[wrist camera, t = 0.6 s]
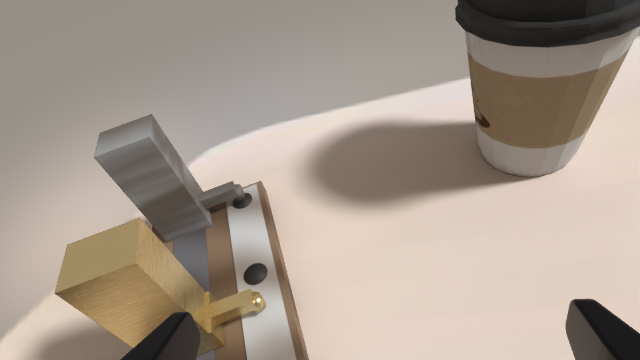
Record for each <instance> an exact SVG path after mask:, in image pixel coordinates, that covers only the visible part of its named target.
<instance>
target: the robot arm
mask: <svg viewBox="0 0 640 360" xmlns="http://www.w3.org/2000/svg"><path fill="white" fill-rule="evenodd" d="M566 333H567V337H568V340H569V343H570V345H571V348H572V351H573V354H574V357H575V360H640V333H638V332H637V331H636V330H634V329H633V328H632V327H630V326H629V325H628V324H626V323H625V322H624V321H622V320H621V319H620V318H618V317H617V316H616V315H614V314H613V313H612V312H610V311H609V310H608V309H606V308H605V307H604V306H602V305H601V304H600V303H598V302H597V301H595V300H593V299H574V300H572V301H571V302H570V305H569V310H568V315H567V320H566ZM200 341H201V334H200V330H199V328H198V326H197V324H196V322H195V320H194V318H193V316H192V314H191V313H189V312H175V313H173V314H171V315H170V316H169V317H168V318H167V319H165V320H164V321H163V322H162V323H161V324H160V325H159V326H158V327H156V328H155V329H154V330H153V331H152V332H151V333H150V334H149V335H147V336H146V337H145V338H144V339H143V340H142V341H141V342H140V343H139V344H137V345H136V346H135V347H134V348H133V349H132V350H131V351H130V352H128V353H127V354H126V355H125V356H124V357H123V358H122V359H121V360H196V359H197V355H198V350H199V346H200Z"/></svg>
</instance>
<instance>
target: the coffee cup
mask: <svg viewBox="0 0 640 360" xmlns="http://www.w3.org/2000/svg"><path fill="white" fill-rule="evenodd" d="M455 10H456V21H457V22H458V23H459V24H460V25H461V27H462V28H463V29H464V30H465V35H466V44H467V53H468V61H469V69H470V78H471V87H472V96H473V104H474V113H475V122H476V130H477V139H478V146H479V147H480V149H481V153H482V155H483V157H484V158H485V160H486V161H487V162H488V163H489V164H490V165H492V166H493V167H494V168H496V169H498V170H500V171H503V172H505V173H507V174H512V175H517V176H522V177H536V176H542V175H547V174H551V173H554V172H556V171H557V170H559V169H561V168H563V167H564V166H565V165H566V164H567V163H568V162H569V161H570V160H571V158H572V157H573V156H574V155H575V154H576V152H577V151H578V149H579V147H580V145H581V143H582V141H583V139H584V137H585V135H586V133H587V132H588V130H589V128H590V126H591V124H592V122H593V120H594V118H595V116H596V114H597V112H598V110H599V108H600V106H601V104H602V102H603V100H604V98H605V96H606V94H607V92H608V90H609V88H610V86H611V84H612V82H613V80H614V79H615V77H616V75H617V73H618V71H619V69H620V67H621V65H622V63H623V61H624V59H625V57H626V55H627V53H628V51H629V49H630V47H631V45H632V43H633V41H634V39H635V37H636V35H637V33H638V31H639V29H640V0H458V5H457V7H456V8H455Z"/></svg>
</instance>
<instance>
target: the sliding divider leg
mask: <svg viewBox="0 0 640 360" xmlns="http://www.w3.org/2000/svg"><path fill="white" fill-rule="evenodd" d="M55 294H56V295H58V296H59V297H60V298H62V299H63V300H65V301H66V302H68V303H69V304H70V305H72V306H73V307H75V308H76V309H78V310H79V311H81V312H82V313H83V314H85V315H86V316H88V317H89V318H91V319H92V320H94V321H95V322H96V323H98V324H99V325H101V326H102V327H104V328H105V329H106V330H108V331H109V332H111V333H112V334H114V335H115V336H117V337H118V338H119V339H121V340H122V341H124V342H125V343H127V344H128V345H130V346H131V347H132V348H134V347H135V346H136V345H137V344H139V343H140V342H141V341H142V340H143V339H144V338H145V337H146V336H147V335H149V334H150V333H151V332H152V331H153V330H154V329H155V328H156V327H158V326H159V325H160V324H161V323H162V322H163V321H164V320H165V319H167V318H168V317H169V316H170V315H171V314H173V313H175V312H189V313H191V314H192V316H193V318H194V320H195V322H196V324H197V326H198V328H199V330H200V334H201V341H200V346H199V350H198V355H200V354H203V353H206V352H208V351H211V350H213V349H216V348H218V347H221V346H224V345H225V342H224V332H223V322H225V321H227V320H230V319H233V318H235V317H238V316H240V315H243V314H245V313H248V312H251V311H254V312H256V313H260V312H262V311H263V310H264V309H265V308H266V301H265V300H264V298H263V297H262V295H261V294H260V293H259V292H253V291H252V290H251V289H247V290H244V291H242V292H239V293H237V294H234V295H231V296H229V297H226V298H224V299H221V300H218V301H217V300H216V299H215V298H214V296H213V295H212V294H211V293H210V292H209V291H207V292H205V290H204V289H203V288H202V287H201V286H200V285H199V284H198V283H197V281H196V280H195V279H194V278H193V277H192V276H191V275H190V274H189V272H188V271H187V270H186V269H185V268H184V267H183V266H182V265H181V263H180V262H179V261H178V260H177V259H176V258H175V257H174V255H173V254H172V253H171V252H170V251H169V250H168V249H167V248H166V246H165V245H164V244H163V243H162V242H161V241H160V240H159V239H158V237H157V236H156V235H155V234H154V233H153V232H152V231H151V230H150V228H149V227H148V226H147V225H146V224H145V223H144V222H143V221H142V219H141V218H138V219H135V220H133V221H130V222H127V223H125V224H122V225H119V226H117V227H114V228H111V229H109V230H106V231H103V232H101V233H98V234H95V235H93V236H90V237H87V238H84V239H82V240H79V241H76V242H74V243H71V244H68V245H67V248H66V252H65V256H64V260H63V263H62V267H61V271H60V274H59V278H58V282H57V285H56V289H55ZM198 355H197V356H198Z"/></svg>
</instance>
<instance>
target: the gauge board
mask: <svg viewBox="0 0 640 360" xmlns="http://www.w3.org/2000/svg"><path fill="white" fill-rule="evenodd" d="M94 158H95V159H96V160H97V162H98V163H99V164H100V165H101V166H102V167H103V169H104V170H105V171H106V172H107V173H108V174H109V176H110V177H111V178H112V179H113V180H114V181H115V182H116V184H117V185H118V186H119V187H120V188H121V189H122V190H123V192H124V193H125V194H126V195H127V196H128V197H129V199H131V201H132V202H133V203H134V204H135V205H136V207H137V208H138V209H139V210H140V211H141V212H142V213H143V215H144V216H145V217H146V218H147V219H148V220H149V222H150V223H151V224H152V225H153V227H152V232H153V233H154V234H155V235H156V236H157V237H158V239H159V240H160V241H161V242H162V243H163V244H164V245H165V246H166V248H167V249H168V250H169V251H170V252H171V253H172V254H173V255H174V257H175V258H176V259H177V260H178V261H179V262H180V263H181V265H182V266H183V267H184V268H185V269H186V270H187V271H188V272H189V274H190V275H191V276H192V277H193V278H194V279H195V280H196V281H197V283H198V284H199V285H200V286H201V287H202V288H203V289H204V290H205V292H207V291H209V292H210V293H211V294H212V295H213V296H214V298H215V299H216V300H217V301H218V300H221V299H224V298H226V297H229V296H231V295H234V294H237V293H239V292H242V291H244V290H247V289H251V290H252V291H253V292H259V293H260V294H261V295H262V297H263V298H264V300H265V301H266V308H265V309H264V310H263V311H262V312H260V313H256V312H254V311H251V312H248V313H245V314H243V315H240V316H238V317H235V318H233V319H230V320H227V321H225V322H223V332H224V342H225V345H224V346H221V347H218V348H216V349H213V350H211V351H208V352H206V353H203V354H200V355H198V356H197V359H196V360H309V358H308V354H307V350H306V346H305V342H304V339H303V335H302V331H301V327H300V323H299V319H298V315H297V311H296V307H295V303H294V299H293V295H292V291H291V287H290V283H289V279H288V275H287V271H286V267H285V263H284V259H283V255H282V251H281V248H280V244H279V240H278V236H277V232H276V228H275V224H274V220H273V216H272V212H271V208H270V204H269V200H268V196H267V192H266V190H265V188H264V186H263V184H262V182H261V181H259V182H256V183H254V184H251V185H248V186H246V187H243V188H242V187H241V185H239V184H237V185H235V184H234V182H233V181H231V182H229V183H226V184H223V185H221V186H218V187H215V188H213V189H210V190H207V191H205V192H203V191H202V189H201V188H200V186H199V185H198V183H197V182H196V180H195V179H194V177H193V176H192V174H191V173H190V171H189V170H188V168H187V167H186V165H185V164H184V162H183V161H182V159H181V157H180V156H179V154H178V153H177V151H176V150H175V148H174V147H173V145H172V144H171V142H170V141H169V139H168V138H167V136H166V135H165V133H164V132H163V130H162V129H161V127H160V126H159V124H158V123H157V121H156V120H155V118H154V117H153V115H152V114H151V115H148V116H145V117H142V118H140V119H137V120H134V121H131V122H129V123H126V124H123V125H120V126H118V127H115V128H112V129H109V130H107V131H104V132H101V133H100V135H99V138H98V142H97V146H96V150H95V154H94Z"/></svg>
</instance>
